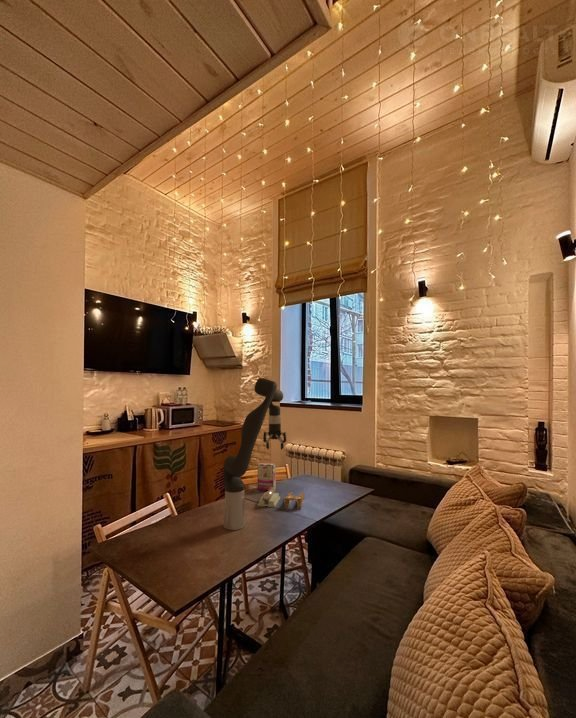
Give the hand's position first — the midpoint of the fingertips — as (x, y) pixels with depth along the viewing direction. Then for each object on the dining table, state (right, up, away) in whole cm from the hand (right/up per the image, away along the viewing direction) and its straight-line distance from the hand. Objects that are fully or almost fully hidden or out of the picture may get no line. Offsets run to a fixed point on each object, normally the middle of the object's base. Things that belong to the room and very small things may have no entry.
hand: (274, 449), depth 203 cm
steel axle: (-3, -25, -13) cm, 28 cm away
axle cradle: (-3, -27, -13) cm, 30 cm away
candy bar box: (-6, -29, +10) cm, 31 cm away
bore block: (+12, -27, -15) cm, 33 cm away
